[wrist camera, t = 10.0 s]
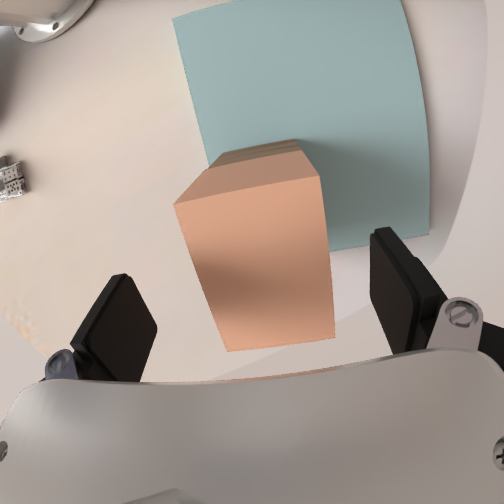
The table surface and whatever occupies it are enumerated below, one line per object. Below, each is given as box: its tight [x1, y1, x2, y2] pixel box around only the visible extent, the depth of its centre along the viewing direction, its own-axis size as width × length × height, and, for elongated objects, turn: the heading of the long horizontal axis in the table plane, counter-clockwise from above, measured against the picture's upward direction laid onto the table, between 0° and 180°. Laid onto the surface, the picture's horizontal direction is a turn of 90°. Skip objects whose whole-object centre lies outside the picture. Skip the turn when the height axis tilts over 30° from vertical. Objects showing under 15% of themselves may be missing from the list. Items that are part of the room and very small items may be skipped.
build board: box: [172, 0, 430, 252], centre depth 20 cm, size 22×18×1 cm
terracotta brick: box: [173, 150, 335, 352], centre depth 15 cm, size 8×6×6 cm
